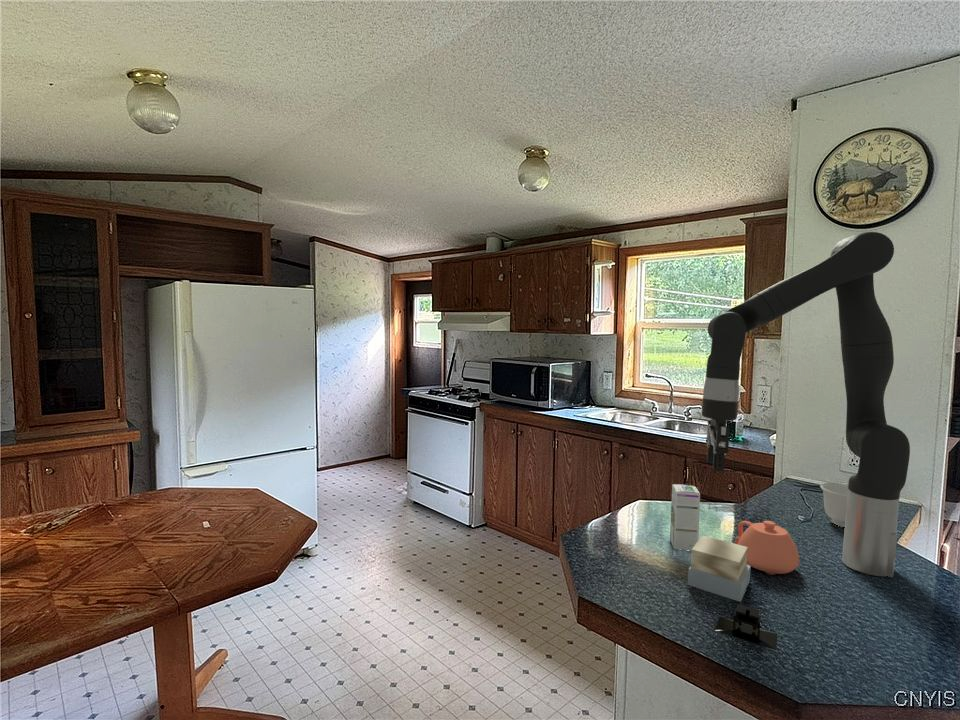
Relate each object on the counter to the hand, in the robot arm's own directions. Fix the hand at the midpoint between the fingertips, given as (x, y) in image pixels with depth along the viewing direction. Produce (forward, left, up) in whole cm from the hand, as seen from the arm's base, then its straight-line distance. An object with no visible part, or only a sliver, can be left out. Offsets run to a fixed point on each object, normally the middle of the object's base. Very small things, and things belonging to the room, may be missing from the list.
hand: (714, 466), depth 120 cm
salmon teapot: (-11, -2, -21) cm, 24 cm away
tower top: (-5, +14, -17) cm, 23 cm away
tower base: (-5, +14, -21) cm, 26 cm away
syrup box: (+6, 0, -21) cm, 22 cm away
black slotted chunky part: (-13, +29, -22) cm, 39 cm away
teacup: (-25, -45, -21) cm, 56 cm away
